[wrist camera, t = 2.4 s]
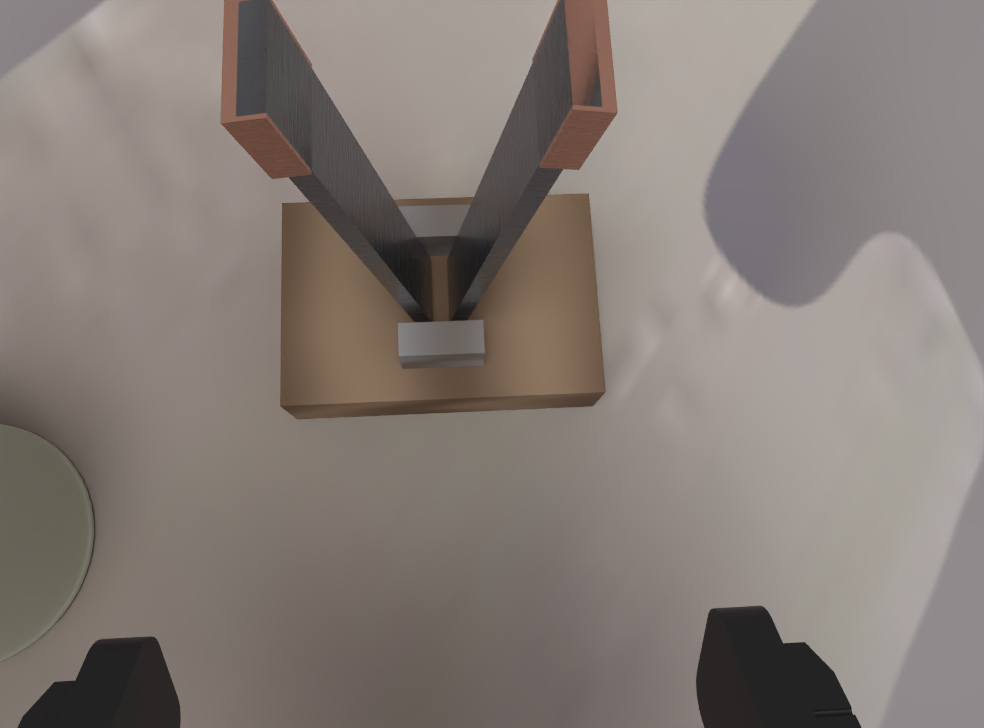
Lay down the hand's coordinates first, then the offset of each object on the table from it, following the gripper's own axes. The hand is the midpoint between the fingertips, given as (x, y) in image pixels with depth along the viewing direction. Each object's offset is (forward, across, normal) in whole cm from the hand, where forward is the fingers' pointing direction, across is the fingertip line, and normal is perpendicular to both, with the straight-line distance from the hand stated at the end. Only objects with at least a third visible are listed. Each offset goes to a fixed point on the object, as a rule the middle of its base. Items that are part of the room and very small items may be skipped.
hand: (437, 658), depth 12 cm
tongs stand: (+22, 0, +6) cm, 22 cm away
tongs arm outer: (+19, -1, +4) cm, 19 cm away
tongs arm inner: (+19, +1, +4) cm, 19 cm away
